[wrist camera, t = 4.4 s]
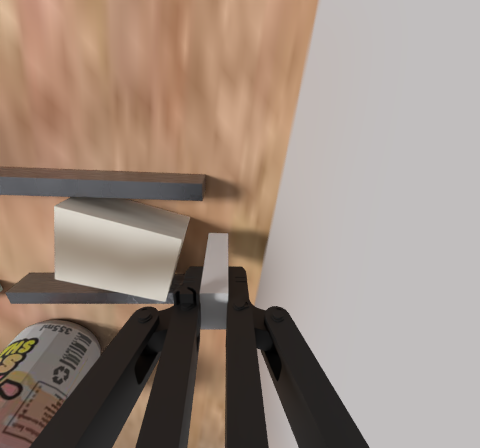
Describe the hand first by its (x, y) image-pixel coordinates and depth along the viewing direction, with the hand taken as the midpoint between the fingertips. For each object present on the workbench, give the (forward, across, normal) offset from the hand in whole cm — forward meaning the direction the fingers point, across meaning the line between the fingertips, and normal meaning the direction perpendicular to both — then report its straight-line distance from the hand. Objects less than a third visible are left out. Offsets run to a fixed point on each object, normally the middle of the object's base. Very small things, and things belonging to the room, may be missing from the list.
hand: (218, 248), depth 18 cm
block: (+2, +7, 0) cm, 7 cm away
